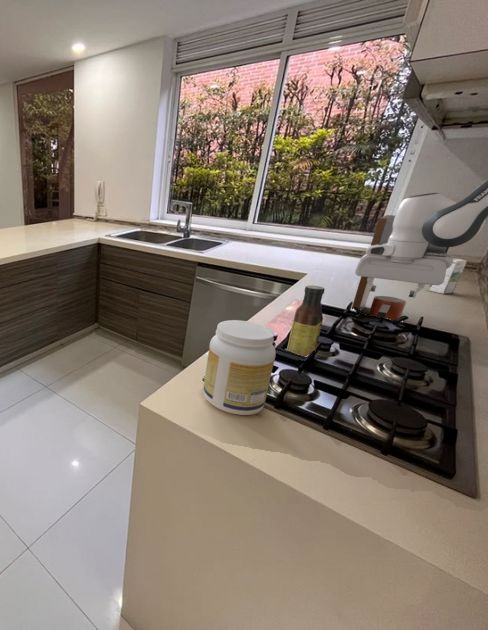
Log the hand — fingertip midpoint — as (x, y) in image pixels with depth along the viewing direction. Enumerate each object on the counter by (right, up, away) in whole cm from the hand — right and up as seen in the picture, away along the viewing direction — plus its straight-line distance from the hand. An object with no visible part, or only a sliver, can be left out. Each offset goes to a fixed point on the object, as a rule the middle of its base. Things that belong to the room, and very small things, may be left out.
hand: (391, 293), depth 107 cm
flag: (+10, -7, +13) cm, 18 cm away
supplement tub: (-67, -26, -33) cm, 79 cm away
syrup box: (+60, +3, +40) cm, 73 cm away
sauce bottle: (-40, -19, -15) cm, 46 cm away
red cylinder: (+5, -9, +9) cm, 14 cm away
